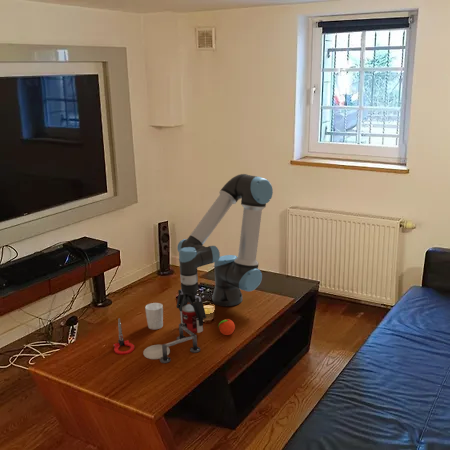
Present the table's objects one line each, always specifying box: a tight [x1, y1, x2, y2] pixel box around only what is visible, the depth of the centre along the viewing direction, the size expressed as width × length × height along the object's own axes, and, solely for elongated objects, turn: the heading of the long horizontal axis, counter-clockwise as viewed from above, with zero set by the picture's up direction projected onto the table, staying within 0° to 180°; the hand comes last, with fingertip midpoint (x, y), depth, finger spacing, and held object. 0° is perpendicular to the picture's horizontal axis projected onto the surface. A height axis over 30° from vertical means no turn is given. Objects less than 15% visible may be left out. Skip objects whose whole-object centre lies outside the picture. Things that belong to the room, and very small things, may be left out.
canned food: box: [182, 303, 198, 334], centre depth 246 cm, size 8×8×11 cm
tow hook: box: [113, 318, 135, 356], centre depth 231 cm, size 8×13×9 cm
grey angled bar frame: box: [159, 323, 202, 364], centre depth 230 cm, size 18×16×7 cm
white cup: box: [144, 302, 164, 330], centre depth 251 cm, size 8×8×10 cm
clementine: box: [217, 318, 236, 336], centre depth 241 cm, size 8×7×7 cm
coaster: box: [142, 344, 171, 360], centre depth 229 cm, size 11×11×1 cm
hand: (191, 327), depth 248 cm, fingers open, 11 cm apart
